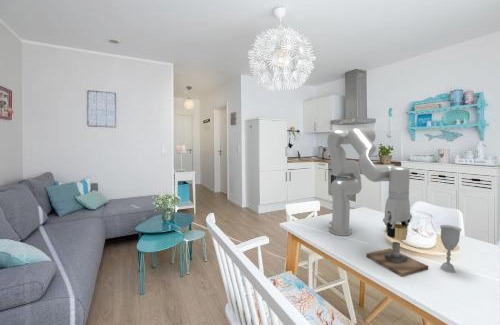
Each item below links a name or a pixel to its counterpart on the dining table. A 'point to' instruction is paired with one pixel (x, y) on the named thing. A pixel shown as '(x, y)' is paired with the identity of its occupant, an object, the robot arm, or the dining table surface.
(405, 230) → the ring
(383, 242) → the dining table surface
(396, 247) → the shaft stand
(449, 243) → the chalice
